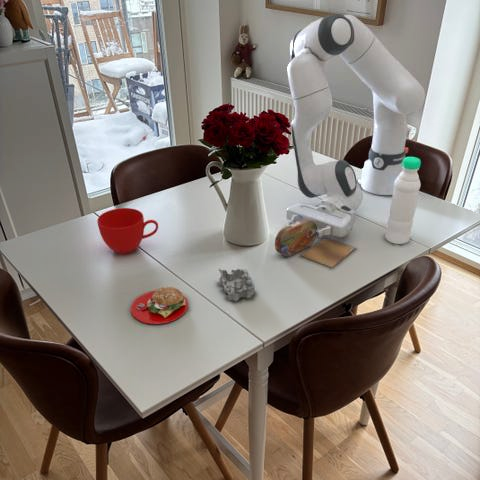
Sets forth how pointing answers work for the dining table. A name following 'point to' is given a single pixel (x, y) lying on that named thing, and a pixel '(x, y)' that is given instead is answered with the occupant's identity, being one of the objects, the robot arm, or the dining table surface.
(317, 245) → the cork mat
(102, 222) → the ceramic cup
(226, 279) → the grey lumpy block
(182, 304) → the hamburger
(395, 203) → the water bottle
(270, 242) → the dining table surface
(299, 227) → the tin
